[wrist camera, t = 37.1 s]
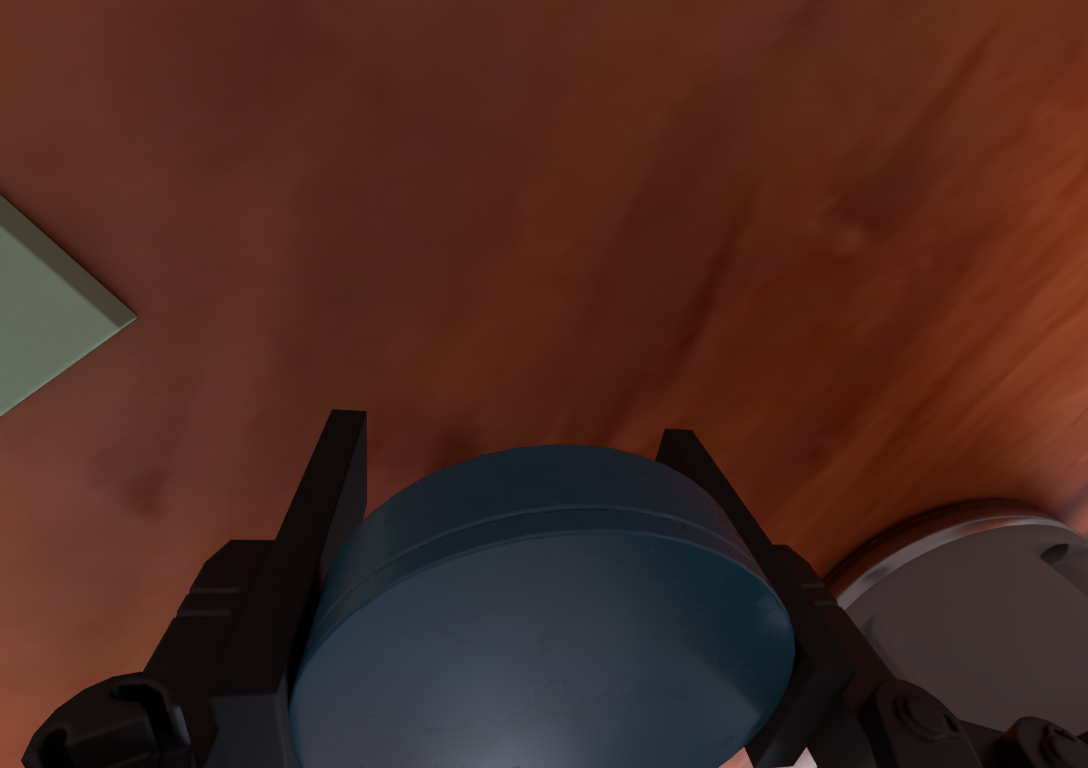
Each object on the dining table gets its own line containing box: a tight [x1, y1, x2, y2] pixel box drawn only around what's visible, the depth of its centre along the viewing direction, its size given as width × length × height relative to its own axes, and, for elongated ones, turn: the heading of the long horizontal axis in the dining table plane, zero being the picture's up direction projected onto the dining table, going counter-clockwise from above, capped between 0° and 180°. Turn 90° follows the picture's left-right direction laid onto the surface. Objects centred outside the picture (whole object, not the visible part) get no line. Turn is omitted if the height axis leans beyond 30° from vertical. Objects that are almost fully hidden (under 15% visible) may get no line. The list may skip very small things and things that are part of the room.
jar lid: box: [288, 445, 795, 768], centre depth 8 cm, size 8×8×2 cm
